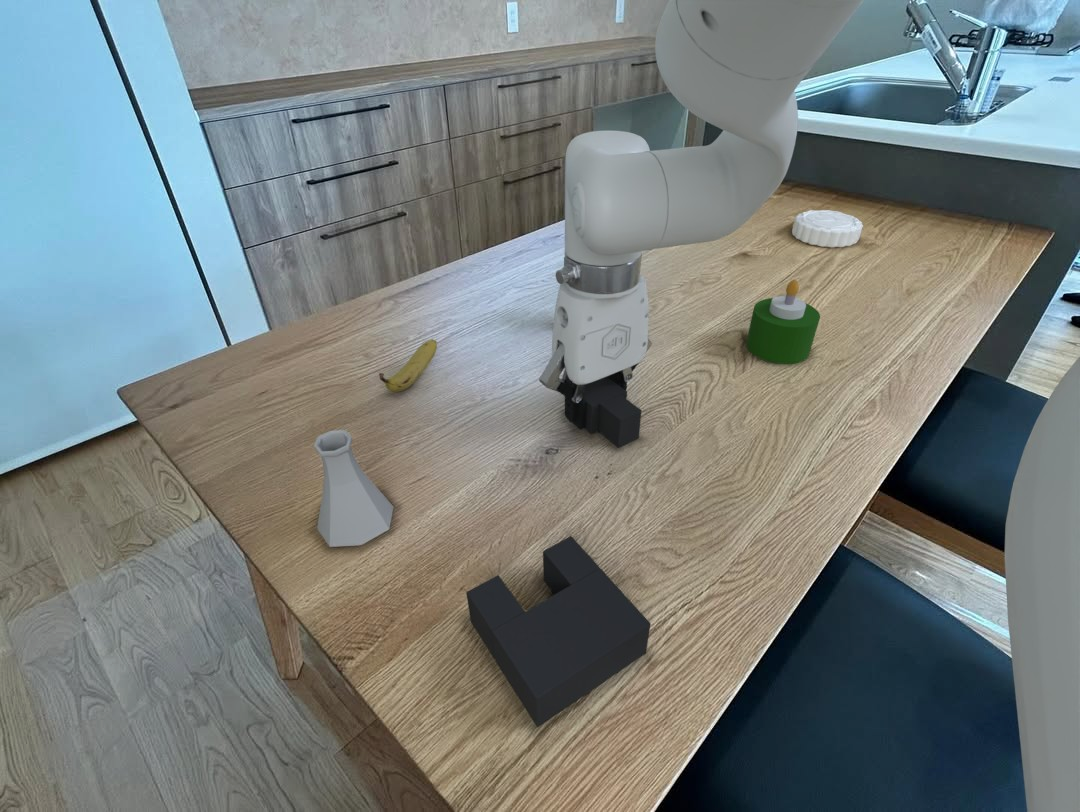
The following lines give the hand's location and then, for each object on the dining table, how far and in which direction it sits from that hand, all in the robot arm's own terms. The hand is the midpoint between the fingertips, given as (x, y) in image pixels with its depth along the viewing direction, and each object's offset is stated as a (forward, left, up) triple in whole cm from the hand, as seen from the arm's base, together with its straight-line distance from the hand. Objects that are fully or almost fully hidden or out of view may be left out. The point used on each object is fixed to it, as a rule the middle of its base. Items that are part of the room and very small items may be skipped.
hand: (595, 413), depth 69 cm
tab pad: (-2, 0, 0) cm, 2 cm away
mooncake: (+20, -71, -1) cm, 74 cm away
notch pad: (-21, +20, 0) cm, 29 cm away
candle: (-2, -30, -1) cm, 30 cm away
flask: (0, +29, -1) cm, 29 cm away
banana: (+19, +15, -1) cm, 24 cm away
